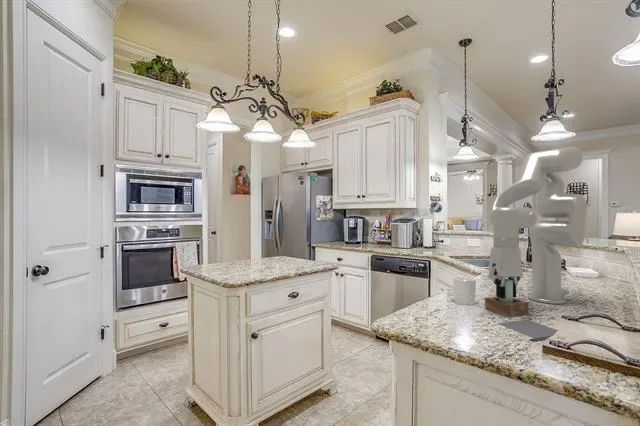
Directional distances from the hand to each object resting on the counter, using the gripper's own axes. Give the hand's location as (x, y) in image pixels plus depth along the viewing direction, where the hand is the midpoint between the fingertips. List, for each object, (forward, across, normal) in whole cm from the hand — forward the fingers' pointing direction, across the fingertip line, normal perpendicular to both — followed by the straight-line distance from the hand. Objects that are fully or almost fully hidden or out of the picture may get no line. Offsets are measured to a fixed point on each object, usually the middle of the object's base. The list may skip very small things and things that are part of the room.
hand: (506, 296), depth 107 cm
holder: (+6, 0, 0) cm, 6 cm away
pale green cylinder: (+5, 0, 0) cm, 5 cm away
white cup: (+7, +5, -14) cm, 16 cm away
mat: (+6, +6, +14) cm, 16 cm away
